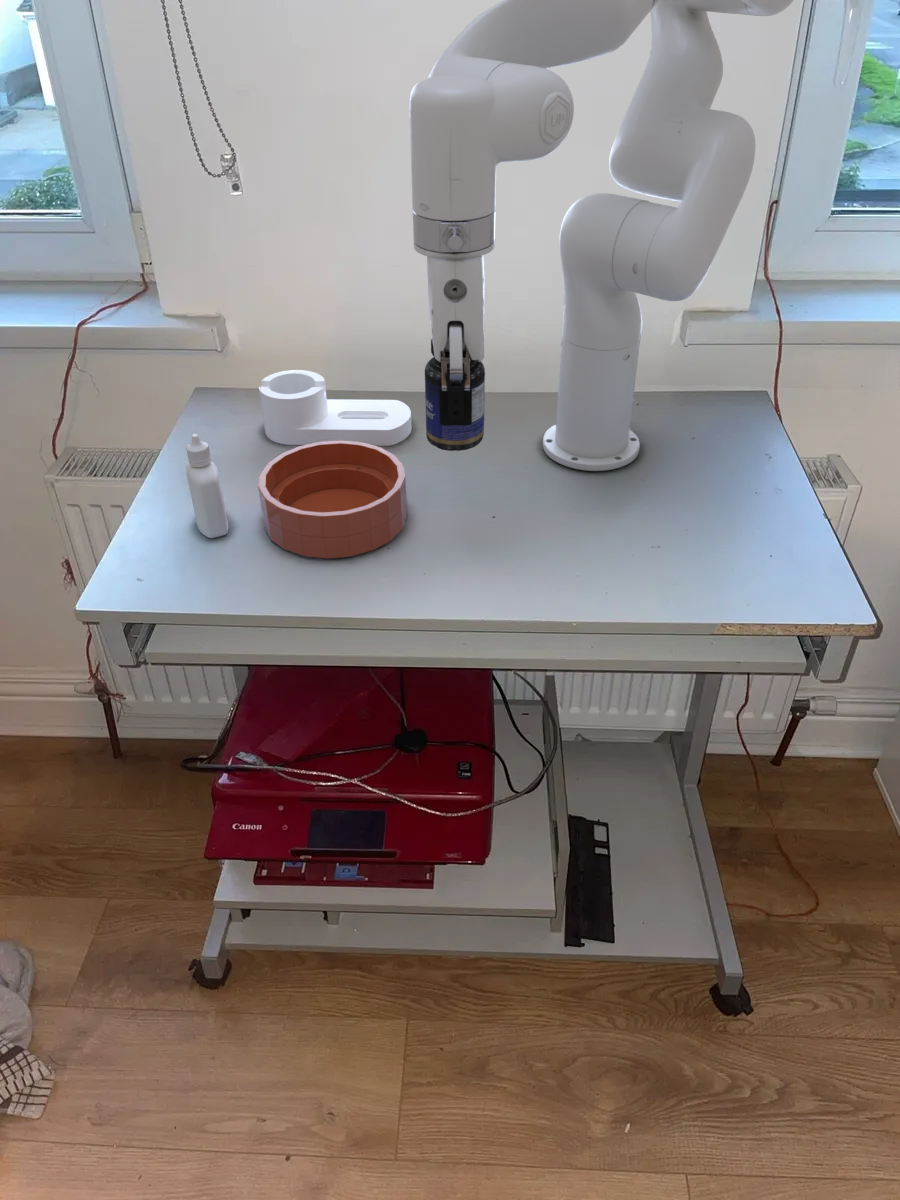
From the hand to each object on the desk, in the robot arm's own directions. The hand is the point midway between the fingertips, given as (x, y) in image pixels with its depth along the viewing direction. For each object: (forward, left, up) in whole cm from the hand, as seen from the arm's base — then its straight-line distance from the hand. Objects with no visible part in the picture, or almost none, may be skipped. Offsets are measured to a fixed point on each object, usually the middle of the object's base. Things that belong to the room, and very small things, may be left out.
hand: (455, 406), depth 98 cm
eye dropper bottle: (+11, -27, -17) cm, 33 cm away
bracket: (-16, -27, -17) cm, 35 cm away
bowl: (+3, -15, -17) cm, 22 cm away
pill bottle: (0, 0, -4) cm, 4 cm away
